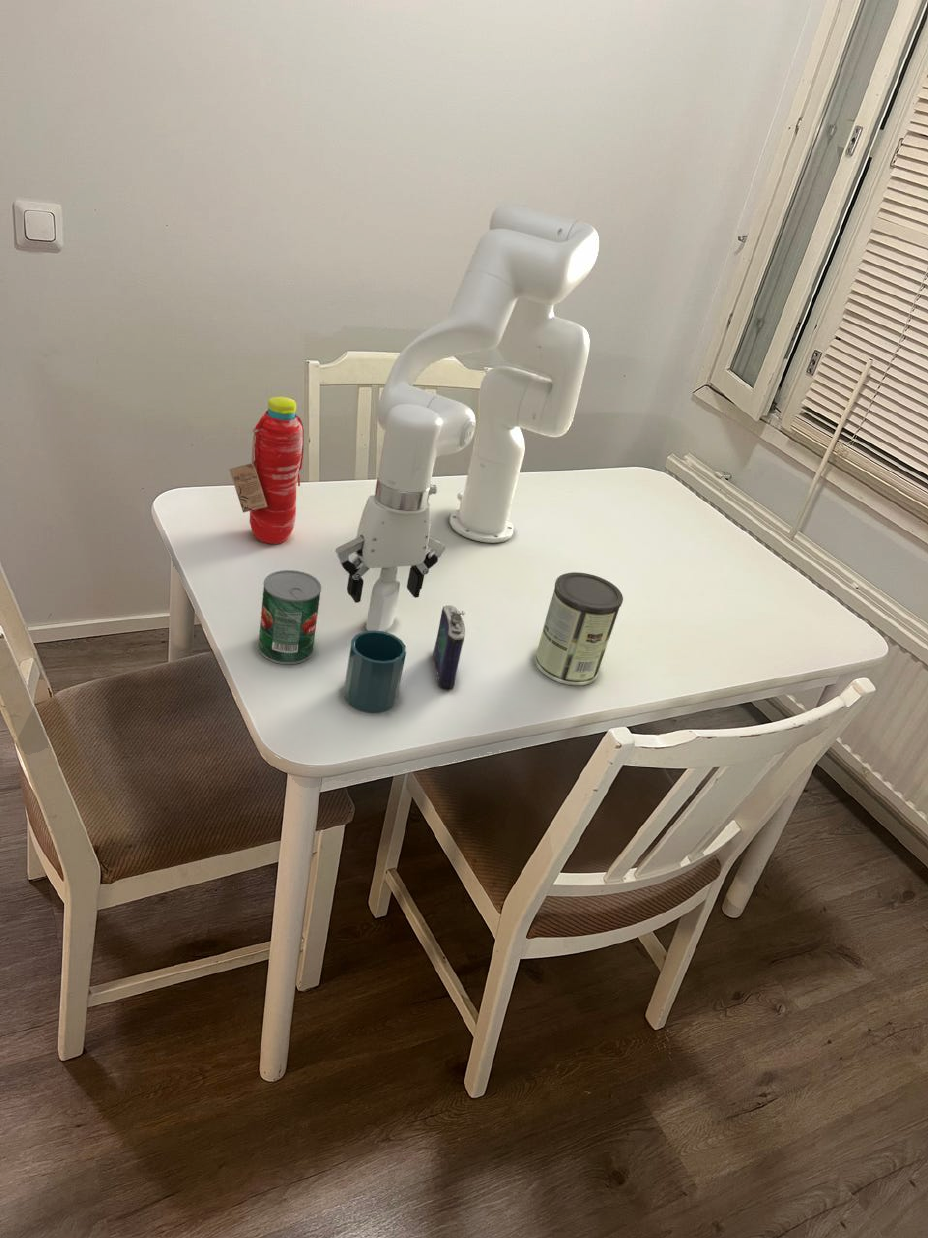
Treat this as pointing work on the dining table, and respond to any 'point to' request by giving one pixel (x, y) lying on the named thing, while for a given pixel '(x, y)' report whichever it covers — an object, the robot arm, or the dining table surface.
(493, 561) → the dining table surface
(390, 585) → the eye dropper bottle
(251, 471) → the water bottle
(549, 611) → the coffee can
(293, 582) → the canned tomato
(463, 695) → the dining table surface
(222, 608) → the dining table surface
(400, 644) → the teal cup
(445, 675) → the flask
